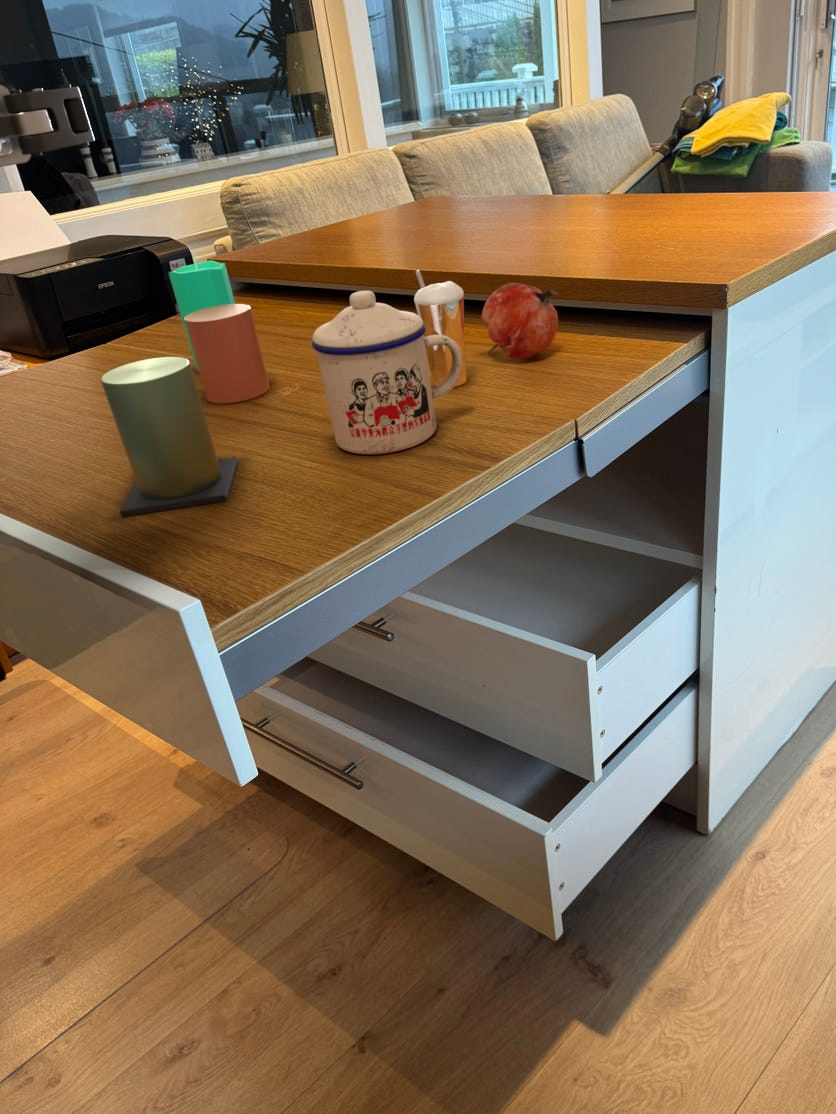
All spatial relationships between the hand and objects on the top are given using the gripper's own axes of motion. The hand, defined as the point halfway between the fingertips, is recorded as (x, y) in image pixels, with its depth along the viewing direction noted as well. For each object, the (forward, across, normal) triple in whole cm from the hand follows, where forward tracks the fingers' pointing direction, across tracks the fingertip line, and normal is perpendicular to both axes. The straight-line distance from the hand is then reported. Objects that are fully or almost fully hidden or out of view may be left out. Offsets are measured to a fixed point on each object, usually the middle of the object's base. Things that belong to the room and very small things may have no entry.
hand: (3, 123), depth 51 cm
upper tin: (+8, 0, +25) cm, 27 cm away
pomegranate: (+35, -27, +26) cm, 51 cm away
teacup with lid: (+16, -17, +26) cm, 35 cm away
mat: (+8, 0, +26) cm, 27 cm away
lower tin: (+32, +2, +26) cm, 41 cm away
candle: (+43, +7, +26) cm, 51 cm away
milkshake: (+28, -20, +26) cm, 43 cm away
